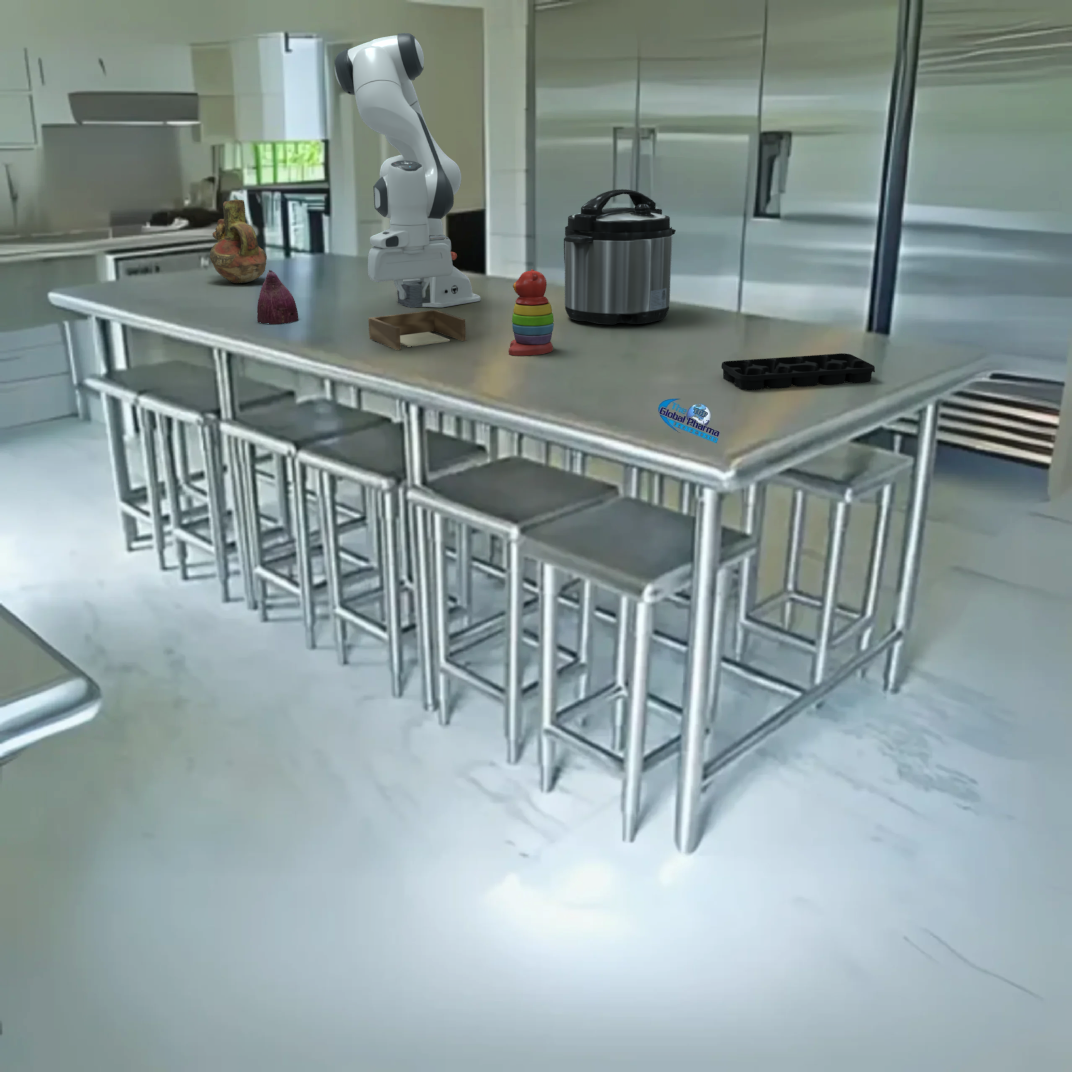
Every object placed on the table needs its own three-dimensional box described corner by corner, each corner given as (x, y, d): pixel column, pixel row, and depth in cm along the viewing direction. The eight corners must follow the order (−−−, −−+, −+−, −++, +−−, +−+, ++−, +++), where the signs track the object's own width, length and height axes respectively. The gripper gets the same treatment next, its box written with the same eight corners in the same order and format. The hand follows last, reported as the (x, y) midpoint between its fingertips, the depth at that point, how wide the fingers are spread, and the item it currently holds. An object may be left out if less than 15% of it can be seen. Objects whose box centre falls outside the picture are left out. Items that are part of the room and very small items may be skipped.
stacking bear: (510, 345, 248) (508, 267, 241) (554, 345, 248) (553, 266, 241) (507, 356, 238) (506, 274, 231) (553, 355, 238) (553, 274, 231)
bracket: (397, 303, 252) (396, 281, 251) (424, 300, 256) (423, 279, 254) (410, 307, 247) (409, 285, 245) (437, 305, 250) (437, 283, 248)
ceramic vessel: (244, 274, 352) (235, 194, 342) (285, 283, 334) (277, 199, 325) (195, 280, 341) (185, 198, 332) (235, 290, 324) (225, 203, 314)
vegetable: (289, 337, 275) (284, 282, 266) (251, 330, 276) (245, 276, 267) (305, 319, 283) (301, 265, 274) (268, 313, 285) (263, 259, 275)
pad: (428, 333, 261) (428, 331, 261) (449, 341, 253) (449, 339, 253) (387, 338, 256) (387, 337, 256) (407, 347, 247) (407, 345, 247)
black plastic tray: (884, 383, 214) (887, 364, 213) (759, 400, 203) (761, 381, 201) (828, 364, 229) (830, 347, 228) (709, 380, 218) (710, 362, 216)
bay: (436, 329, 265) (435, 309, 263) (466, 340, 253) (465, 319, 251) (369, 338, 256) (368, 317, 254) (396, 350, 244) (395, 328, 243)
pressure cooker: (657, 305, 292) (661, 183, 280) (688, 326, 266) (694, 192, 254) (549, 310, 288) (548, 186, 276) (570, 331, 262) (570, 195, 250)
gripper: (444, 232, 251) (446, 292, 256) (363, 238, 241) (366, 300, 246) (456, 235, 246) (458, 296, 251) (374, 240, 236) (378, 304, 241)
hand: (412, 298), depth 249 cm, fingers closed on bracket, 3 cm apart
